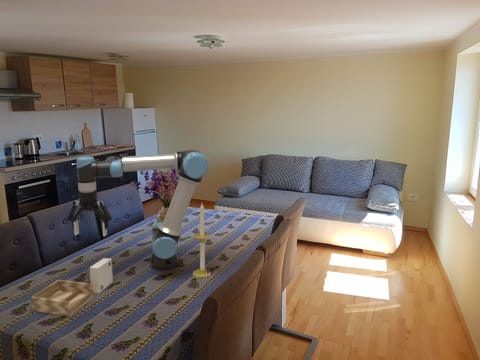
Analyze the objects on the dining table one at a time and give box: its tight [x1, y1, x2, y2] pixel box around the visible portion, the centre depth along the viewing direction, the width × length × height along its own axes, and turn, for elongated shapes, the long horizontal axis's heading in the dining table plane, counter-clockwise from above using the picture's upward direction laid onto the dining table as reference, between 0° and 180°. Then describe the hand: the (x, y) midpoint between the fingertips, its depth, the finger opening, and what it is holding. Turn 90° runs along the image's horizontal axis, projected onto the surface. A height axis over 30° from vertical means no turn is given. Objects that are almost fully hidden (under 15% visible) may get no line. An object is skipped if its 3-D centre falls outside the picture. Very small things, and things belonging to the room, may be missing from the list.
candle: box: [192, 203, 211, 278], centre depth 182 cm, size 10×10×38 cm
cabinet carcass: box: [30, 279, 95, 317], centre depth 155 cm, size 18×16×6 cm
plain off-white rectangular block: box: [89, 257, 114, 294], centre depth 169 cm, size 4×11×12 cm, turn 167°
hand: (91, 234), depth 171 cm, fingers open, 13 cm apart
